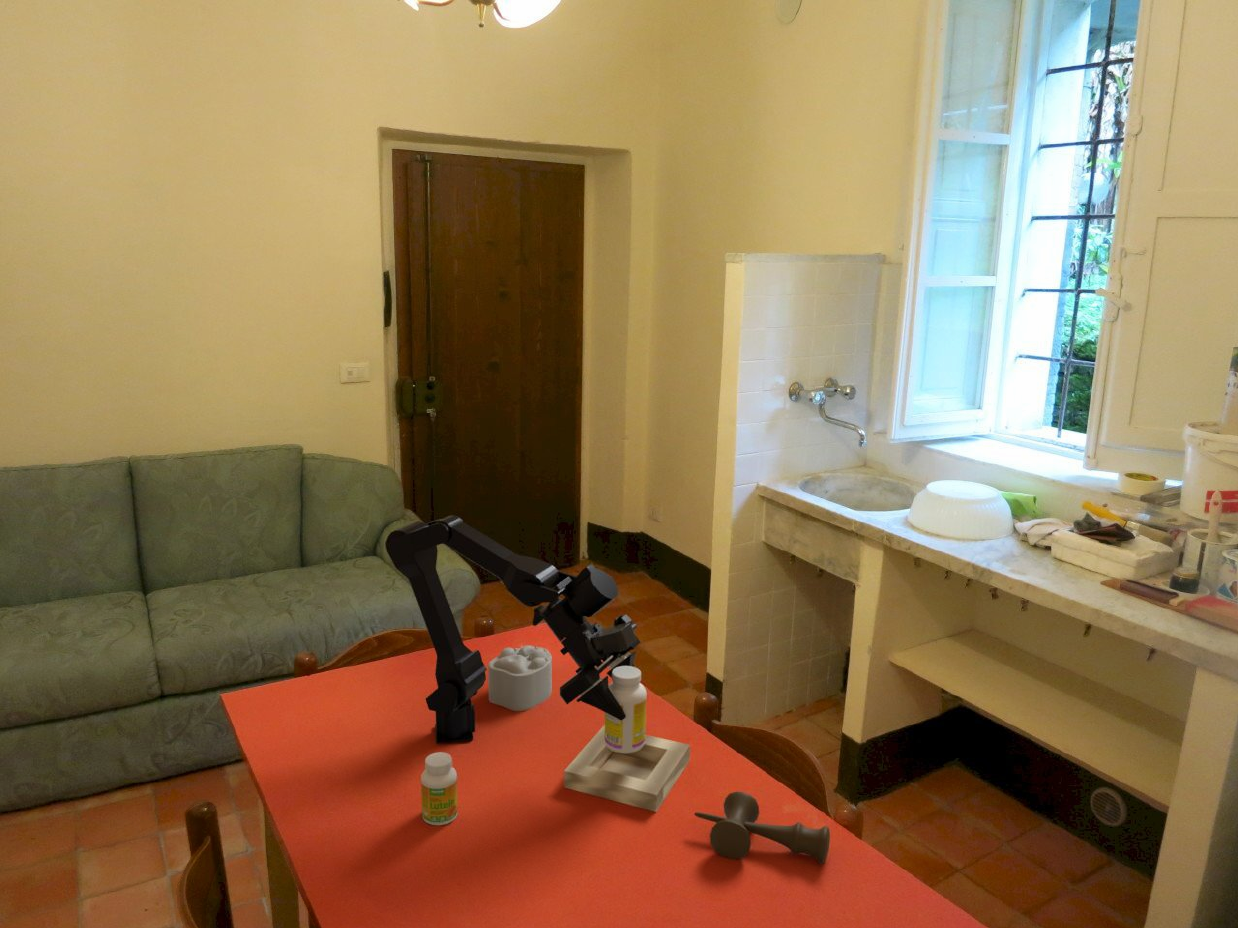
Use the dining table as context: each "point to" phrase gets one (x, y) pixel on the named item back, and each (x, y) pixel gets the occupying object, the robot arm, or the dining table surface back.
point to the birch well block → (628, 771)
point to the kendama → (760, 831)
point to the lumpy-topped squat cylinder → (520, 677)
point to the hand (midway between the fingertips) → (633, 709)
